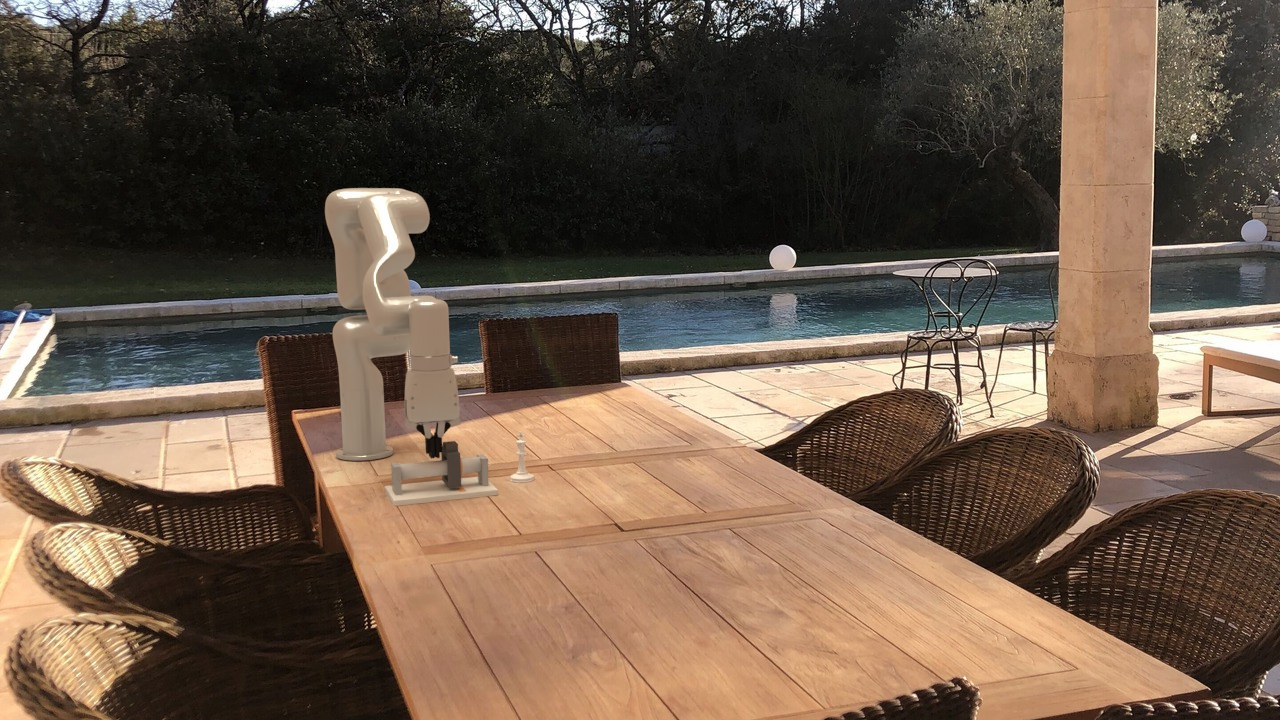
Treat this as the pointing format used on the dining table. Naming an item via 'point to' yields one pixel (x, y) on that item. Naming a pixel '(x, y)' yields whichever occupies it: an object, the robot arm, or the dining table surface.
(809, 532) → the dining table surface
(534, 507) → the dining table surface
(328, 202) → the robot arm
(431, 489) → the rail
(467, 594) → the dining table surface
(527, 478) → the chess piece
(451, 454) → the dark grey notched block
